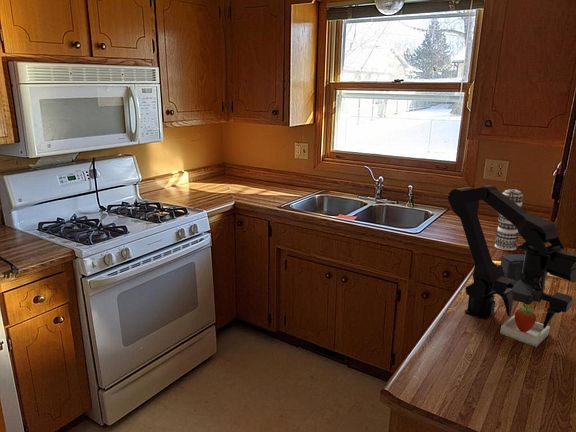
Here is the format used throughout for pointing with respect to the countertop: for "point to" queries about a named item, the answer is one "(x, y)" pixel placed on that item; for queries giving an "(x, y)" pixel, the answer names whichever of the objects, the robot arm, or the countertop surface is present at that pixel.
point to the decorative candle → (508, 224)
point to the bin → (529, 337)
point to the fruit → (525, 318)
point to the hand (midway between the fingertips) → (526, 321)
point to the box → (512, 266)
